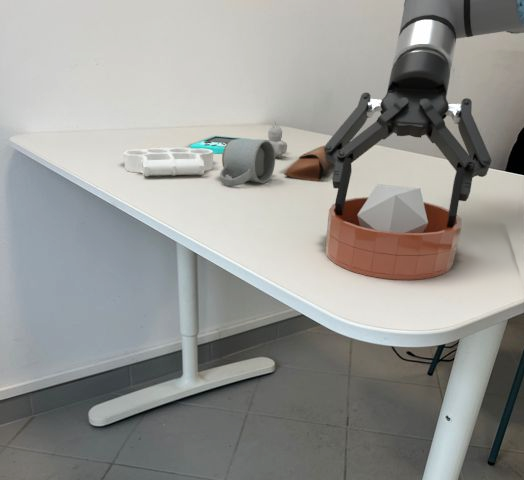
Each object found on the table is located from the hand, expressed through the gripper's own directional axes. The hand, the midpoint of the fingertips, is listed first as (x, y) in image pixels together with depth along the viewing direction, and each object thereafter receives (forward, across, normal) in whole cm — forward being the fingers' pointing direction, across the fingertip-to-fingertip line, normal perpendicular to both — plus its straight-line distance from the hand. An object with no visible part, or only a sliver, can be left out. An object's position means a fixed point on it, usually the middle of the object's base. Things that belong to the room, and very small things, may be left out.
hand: (393, 216), depth 65 cm
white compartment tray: (-22, +47, -30) cm, 60 cm away
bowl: (+3, 0, -6) cm, 6 cm away
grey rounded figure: (-37, +31, -45) cm, 66 cm away
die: (+2, 0, -6) cm, 6 cm away
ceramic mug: (-19, +30, -28) cm, 45 cm away
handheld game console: (-42, +47, -50) cm, 81 cm away
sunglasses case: (-30, +20, -38) cm, 53 cm away
